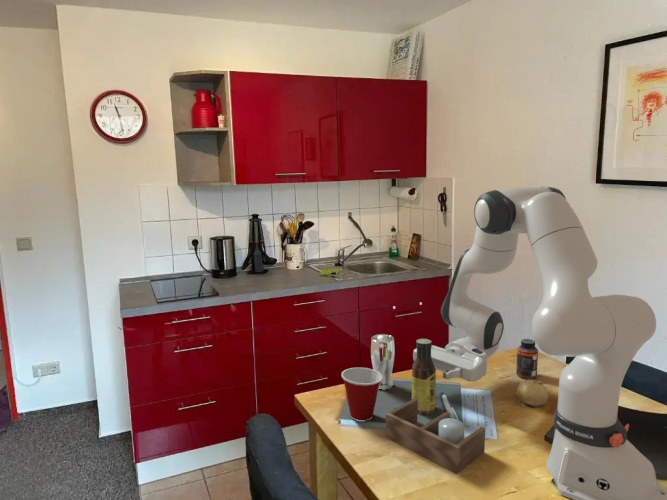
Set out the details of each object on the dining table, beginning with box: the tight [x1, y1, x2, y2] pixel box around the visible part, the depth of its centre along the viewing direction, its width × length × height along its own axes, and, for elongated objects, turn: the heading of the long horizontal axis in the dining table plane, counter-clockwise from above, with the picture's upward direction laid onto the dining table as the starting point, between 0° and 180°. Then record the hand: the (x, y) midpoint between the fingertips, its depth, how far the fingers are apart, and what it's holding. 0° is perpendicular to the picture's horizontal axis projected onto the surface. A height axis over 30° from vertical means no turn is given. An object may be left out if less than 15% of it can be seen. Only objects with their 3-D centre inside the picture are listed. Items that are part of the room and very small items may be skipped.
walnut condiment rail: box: [385, 398, 486, 475], centre depth 116 cm, size 20×11×7 cm, turn 43°
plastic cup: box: [341, 367, 383, 420], centre depth 131 cm, size 11×11×12 cm
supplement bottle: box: [515, 338, 539, 380], centre depth 153 cm, size 6×6×11 cm
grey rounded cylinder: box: [439, 417, 465, 444], centre depth 113 cm, size 6×6×7 cm
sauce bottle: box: [411, 338, 437, 416], centre depth 132 cm, size 6×6×20 cm
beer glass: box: [370, 333, 395, 391], centre depth 148 cm, size 7×7×15 cm
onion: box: [516, 377, 549, 407], centre depth 137 cm, size 8×8×7 cm
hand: (430, 370), depth 133 cm, fingers open, 8 cm apart
